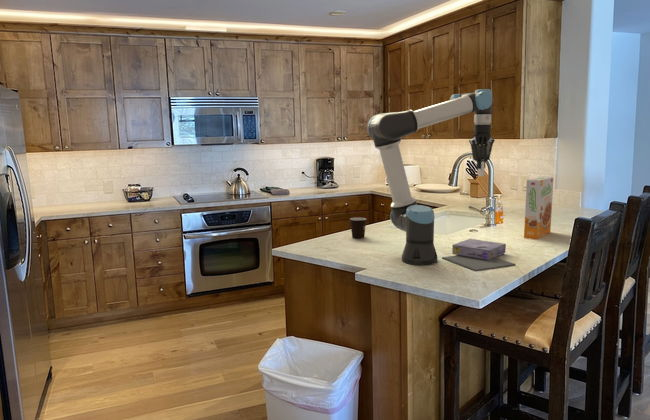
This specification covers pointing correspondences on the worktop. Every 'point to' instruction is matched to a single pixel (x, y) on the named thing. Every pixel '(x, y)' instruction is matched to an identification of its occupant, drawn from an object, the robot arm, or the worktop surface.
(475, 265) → the mat
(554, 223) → the worktop surface
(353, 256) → the worktop surface
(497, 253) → the cake pan box
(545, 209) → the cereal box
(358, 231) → the coffee mug
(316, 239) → the worktop surface
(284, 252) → the worktop surface
